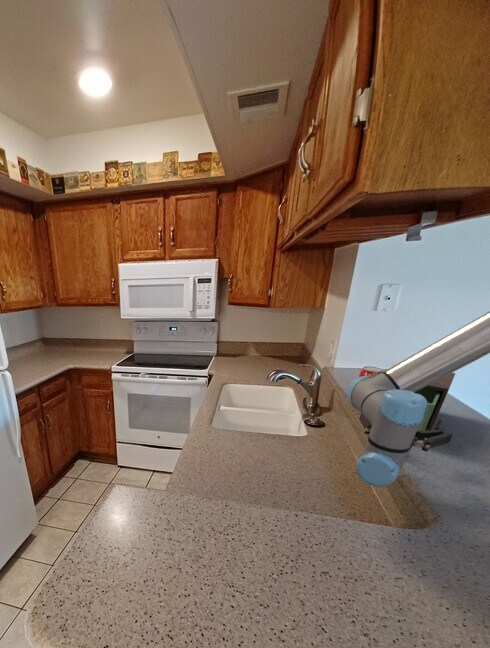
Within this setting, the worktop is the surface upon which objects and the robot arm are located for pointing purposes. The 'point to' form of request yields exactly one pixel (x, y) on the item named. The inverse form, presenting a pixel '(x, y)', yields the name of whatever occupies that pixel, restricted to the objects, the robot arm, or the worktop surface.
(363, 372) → the soda can
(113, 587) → the worktop surface
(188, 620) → the worktop surface
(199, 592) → the worktop surface
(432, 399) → the storage bin
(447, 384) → the cubby
